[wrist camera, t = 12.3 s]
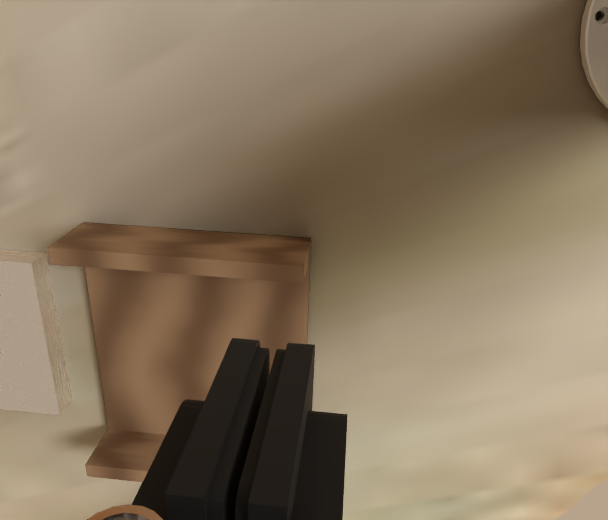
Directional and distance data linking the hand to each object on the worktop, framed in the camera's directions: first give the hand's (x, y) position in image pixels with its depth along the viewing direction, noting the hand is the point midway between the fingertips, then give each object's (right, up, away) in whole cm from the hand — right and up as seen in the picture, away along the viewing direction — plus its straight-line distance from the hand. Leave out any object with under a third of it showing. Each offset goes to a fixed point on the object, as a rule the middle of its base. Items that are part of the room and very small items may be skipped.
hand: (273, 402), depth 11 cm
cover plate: (-24, -2, +34) cm, 42 cm away
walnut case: (-8, -4, +32) cm, 34 cm away
